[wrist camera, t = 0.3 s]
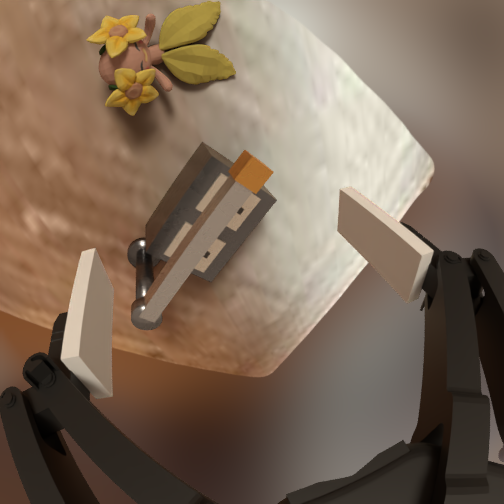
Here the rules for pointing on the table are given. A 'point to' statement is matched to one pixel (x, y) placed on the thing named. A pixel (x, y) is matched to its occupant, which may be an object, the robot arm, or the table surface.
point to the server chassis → (192, 205)
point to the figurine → (158, 54)
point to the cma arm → (200, 239)
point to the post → (142, 266)
